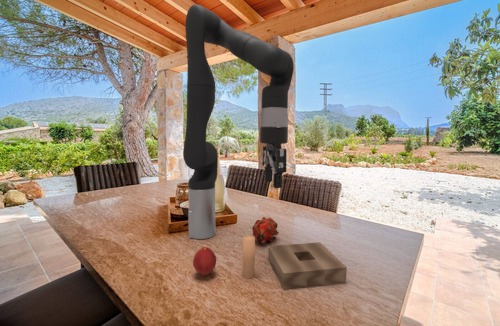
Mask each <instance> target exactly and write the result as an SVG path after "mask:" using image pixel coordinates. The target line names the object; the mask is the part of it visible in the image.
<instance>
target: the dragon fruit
mask: <svg viewBox="0 0 500 326" xmlns="http://www.w3.org/2000/svg"><path fill="white" fill-rule="evenodd" d="M251 228H252V230H251V231H252V236H254V237H255V241H257V244H259V245H260V244H266V243H267V242H269V243H272V242H273V241H275V240H276V239H277V238H278V237H277V236H278V235H279V233H280V231H278V230H277V229H278V222H276V221H275V220H274V219H273V218H272V217H267V218H266V217H262V218H261V219H257V220H256V221H255V223H254V225H253V226H252V227H251Z"/></svg>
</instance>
